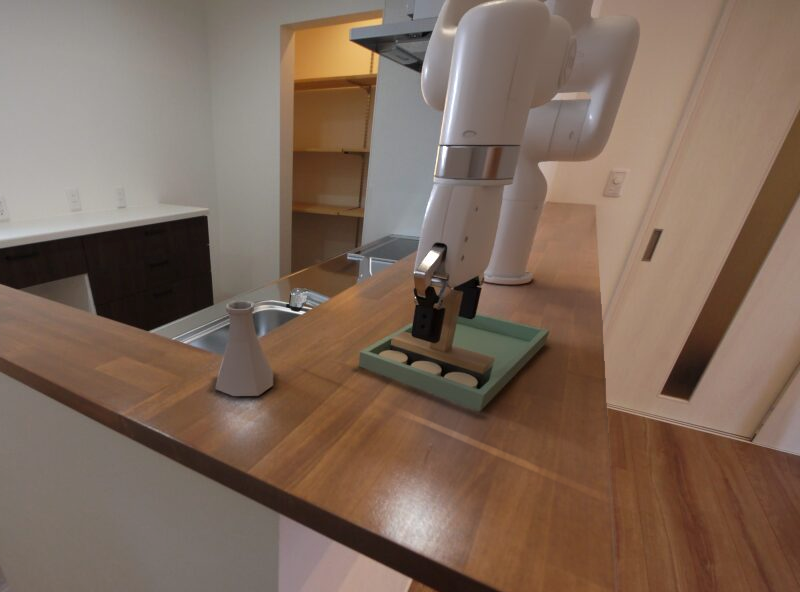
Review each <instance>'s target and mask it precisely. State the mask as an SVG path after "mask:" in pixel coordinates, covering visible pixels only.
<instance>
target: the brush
mask: <svg viewBox="0 0 800 592" xmlns="http://www.w3.org/2000/svg"><path fill="white" fill-rule="evenodd" d="M462 295H463V292H462V291H457V290H453V288H451V289H450V291H449V293H448V295H447V297H446V300H445V302H444V304H443V306H442V308H446V310H445V315H444V320H443V326H442V331H441V336H440V341H439V342H437V343H431V342H428V341H424V340H421V339H418V338H414V337H413V336H412V335H411V333H407V332H404V331H403V332H401V333H400V334H398V335H396V336H394V337H392V340H391V347H390V350H394V351H399V352H402V353H404V354H406V355H407V357H408V360H407V365H410V366H411V364H412V363H414V362H417V361H429V362H433V363H435V364H437V365H439V366H440V367H441V369H442V372H441V376H442V377H445V375H446V374H448V373H451V372H461V373H466V374H469V375H471V376H473V377H475V378H476V379H477V381H478V384H477V389H480V388H481V387H482V386H483V385H484V384H485V383H487V382H488V381H489V378H490V375H491V371H492V367H493V363H494V359H495V358H493V357H489V356H486V355H482V354H479V353H476V352H472V351H469V350H465V349H462V348H459V347H455V346H452V344H453V339H454V334H455V330H456V325H457V320H458V315H459V310H460V305H461V300H462Z"/></svg>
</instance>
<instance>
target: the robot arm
mask: <svg viewBox="0 0 800 592" xmlns="http://www.w3.org/2000/svg"><path fill="white" fill-rule="evenodd" d="M593 5H594V0H444V2H443V4H442V6H441V8H440V11H439V14H438V17H437V20H436V21H435V25H434V28H433V30H432V33H431V35H430V38H429V40H428V44H427V47H426V50H425V54H424V58H423V61H422V62H423V63H422V68H421V76H420V85H421V86H420V87H421V93H422V94H421V95H422V97H423V99H424V101H425V103H426V105H428V107H430V109H432V110H435V111H437V112H443V114H442V115H443V116H442V122H441V128H440V135H439V143H438V148H437V155H436V161H435V162H436V163H435V167H434V174H433V175H434V176H433V181H432V182H433V185H432V189H431V192H430V194H429V197H428V201H427V205H426V208H425V213H424V216H423V221H422V225H421V229H420V230H421V231H420V235H419V240H418V246H417V251H416V256H415V262H414V268H413V282H414V288H413V294H414V299H413V300H414V301H413V303H414V311H413V312H414V313H413V318H412V322H413V325H412V332H411V335H412V336H413V337H414V338H418V339H421V340H424V341H428V342H431V343H437V342H439V341H440V336H441V331H442V326H443V320H444V315H445V310H446V308H442V306H443V304H444V302H445V300H446V297H447V295H448V293H449V291H450V289H453V290H457V291H462V292H463V295H462V300H461V305H460V310H459V315H458V316H459V317H463V318H467V319H473V318H475V316H476V313H477V311H478V307H479V302H480V298H481V293H482V289H483V285H484V283H490V284H495V285H496V284H497V285H523V284H528V283H530V282H531V281H532V279H533V276H534V275H533V273H532V272H531V271H529V270H527V267H528V263H529V259H530V257H531V252H532V248H533V246H534V241H535V238H536V234H537V230H538V227H539V223H540V220H541V216H542V212H543V208H544V204H545V201H546V197H547V194H548V181H547V179H546V176H545V175H544V173H543V171H542V170H541V168H540V165H539V163H546V162H565V163H566V162H568V163H573V162H574V163H575V162H577V163H578V162H590V161H591V160H594V159H596V158H598V157H599V156H600V155H601V154H602V152H603V151H604V150H605V147H606V145H607V144H608V142H609V139H610V136H611V133H612V131H613V127H614V124H615V121H616V119H617V115H618V112H619V108H620V106H621V103H622V101H623V100H622V99H623V96H624V94H625V90H626V88H627V84H628V81H629V78H630V75H631V73H632V69H633V65H634V62H635V60H636V59H635V58H636V55H637V52H638V47H639V43H640V36H641V27H640V22H639V21H638V19H637V18H636V17H635V16H633V15H627V14H618V15H617V14H615V15H608V16H599V17H593V16H592V9H593ZM569 93H587V95H589V98H578V99H554V98H555V97H556V96H557V95H558V94H569ZM435 287H436V288H440V289H439V291H438V293H437V292H436V289H435Z"/></svg>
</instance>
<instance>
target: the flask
mask: <svg viewBox="0 0 800 592" xmlns="http://www.w3.org/2000/svg"><path fill="white" fill-rule="evenodd" d="M254 310H255V302H254V301H253V302H252V301H250V300H233V301H230V302H228V303H226V306H225V311H226V313H228V318H229V320H228V321H229V328H228V336H227V337H228V338H227V343H226V347H225V351H224V354H223V356H222V357H223V358H222V360H221V365H220V368H219V370H218V371H219V372H218V376H217V379H216V384H215V387H214V388H215V390H217V391H219V392H222V393H224V394H227V395H230V396H232V397H258V396H261V395H262V394H263V393H265V392H266V391H267V390H268V389H270V388H272V387H274V373H273V370H272V368H271V366H270V363H269V361H268V359H267V357H266V355H265V353H264V349H263V348H262V345H261V343H260V341H259V338H258V335H257V333H256V332H257V331H256V329H255V328H256V327H255V325H254V318H253V312H254Z"/></svg>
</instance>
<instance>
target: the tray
mask: <svg viewBox="0 0 800 592" xmlns="http://www.w3.org/2000/svg"><path fill="white" fill-rule="evenodd" d="M412 325H413V321H412V322H410V323H409V324H407V325H406V326H403V327H402V328H400V329H397V331H394V332H393V333H391V334H389V335H387V336H385V337H384V338H382V339H380V340H379V341H377V342H375V343H373V344H371V345H369V346H368V347H366V348H364V349H362V350H360V351H359V359H358V360H359V361H358V367H360V368H363V369H365V370H367V371H371V372H374V373H376V374H378V375H381V376H384V377H386V378H389V379H392V380H394V381H398V382H400V383H403V384H405V385H408V386H410V387H413V388H416V389H418V390H422V391H425V392H427V393H429V394H432V395H434V396H437V397H440V398H443V399H445V400H448V401H451V402H453V403H456V404H458V405H462V406H465V407H467V408H469V409H472V410H474V411H477V412H481V411H482V410H483V409H484V408H485V407H486V406H487V405H488V404H489V402H491V400H493V398H494V397H495V396H497V394H498V393H499V392H500V391H501V390H502V389H503V388H504V387H505V386H506V385H507V384H508V383H509V382H510V381H511V380H512V379H513V378H514V377H515V376H516V375H517V374H518V372H519V371H520V370H521V369H522V368H523V367H524V366H526V364H527V363H528V362H529V361H530V360H531V359H532V358H533V357H534V356H535V355H536V354H537V353H538V351H540V350H541V348H542V347H544V346H545V344H546V342H547V340H548V337H549V333H550V330H549V329H546V328H542V327H537V326H533V325H529V324H524V323H520V322H516V321H513V320H508V319H504V318H499V317H495V316H491V315H486V314H483V313H479V312H476V316H475V318H473V319H467V318H463V317H459V316H458V320H457V325H456V330H455V334H454V339H453V344H452V346H455V347H459V348H462V349H465V350H469V351H472V352H476V353H479V354H482V355H486V356H489V357H493V358H495V359H494V363H493V367H492V371H491V375H490V378H489V381H488V382H487V383H485V384H484V385H483V386H482V387H481V388H480V389H477V388H473V387H470V386H467V385H464V384H461V383H458V382H455V381H453V380H450V379H447V378H444V377H442V376H438V375H435V374H432V373H429V372H426V371H423V370H421V369H418V368H415V367H412V366H410V365H406V364H403V363H400V362H397V361H394V360H391V359H389V358H386V357H383V356H380V355H379V353H381V352H383V351H387V350H390V347H391V340H392V337H394V336H396V335H398V334H400V333H401V332H403V331H404V332H407V333H411V332H412Z"/></svg>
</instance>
